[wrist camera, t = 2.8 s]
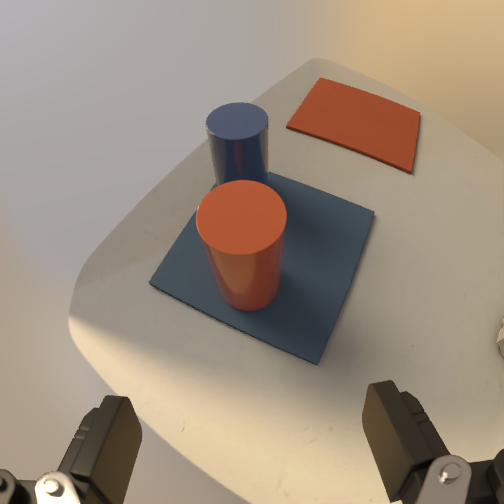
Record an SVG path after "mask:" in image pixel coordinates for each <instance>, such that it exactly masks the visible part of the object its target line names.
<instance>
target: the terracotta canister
mask: <svg viewBox="0 0 504 504" xmlns="http://www.w3.org/2000/svg"><path fill="white" fill-rule="evenodd" d="M286 221H287V212H286V207H285V205H284V202H283V201H282V199H281V197H280V196H279V195H278V194H277V193H276V192H275V191H274V190H273V189H271V188H270V187H268V186H266V185H264V184H262V183H259V182H256V181H250V180H237V181H231V182H227V183H224V184H222V185H220V186H218V187H216V188H214V189H213V190H212V191H210V192H209V193H208V194H207V195H206V196H205V197H204V199H203V200H202V201H201V203H200V205H199V207H198V210H197V214H196V225H197V230H198V232H199V235H200V238H201V241H202V244H203V247H204V250H205V253H206V255H207V258H208V261H209V264H210V267H211V270H212V272H213V275H214V278H215V281H216V283H217V286H218V289H219V292H220V294H221V296H222V298H223V299H224V300H225V302H226V303H227V304H229V305H230V306H231V307H233V308H235V309H238V310H242V311H255V310H259V309H261V308H264V307H265V306H267V305H268V304H270V303H271V302H272V301H273V299H274V298H275V296H276V295H277V293H278V290H279V284H280V276H281V267H282V258H283V249H284V240H285V230H286Z"/></svg>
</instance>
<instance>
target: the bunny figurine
mask: <svg viewBox="0 0 504 504" xmlns="http://www.w3.org/2000/svg"><path fill="white" fill-rule="evenodd" d="M502 325H503V328H501V329H500V332H499V335H498V338H497V341H496V343H497V344H498V345H499V346H500V351H501V354H502V356H503V357H504V318H503V321H502Z"/></svg>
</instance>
